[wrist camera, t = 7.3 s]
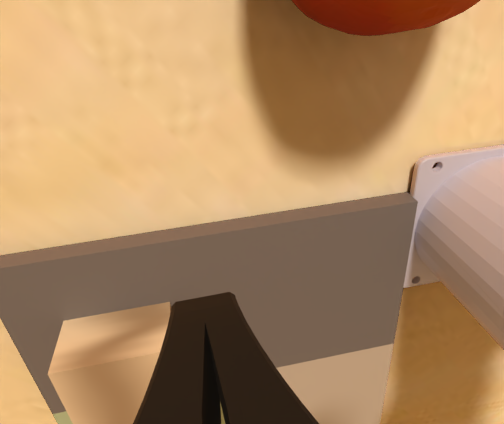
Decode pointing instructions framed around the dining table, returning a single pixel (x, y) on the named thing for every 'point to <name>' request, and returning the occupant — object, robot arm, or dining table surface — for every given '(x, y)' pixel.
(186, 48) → the dining table surface
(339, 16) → the fruit
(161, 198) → the dining table surface
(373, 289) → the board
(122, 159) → the dining table surface
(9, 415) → the dining table surface
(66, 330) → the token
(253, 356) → the robot arm
